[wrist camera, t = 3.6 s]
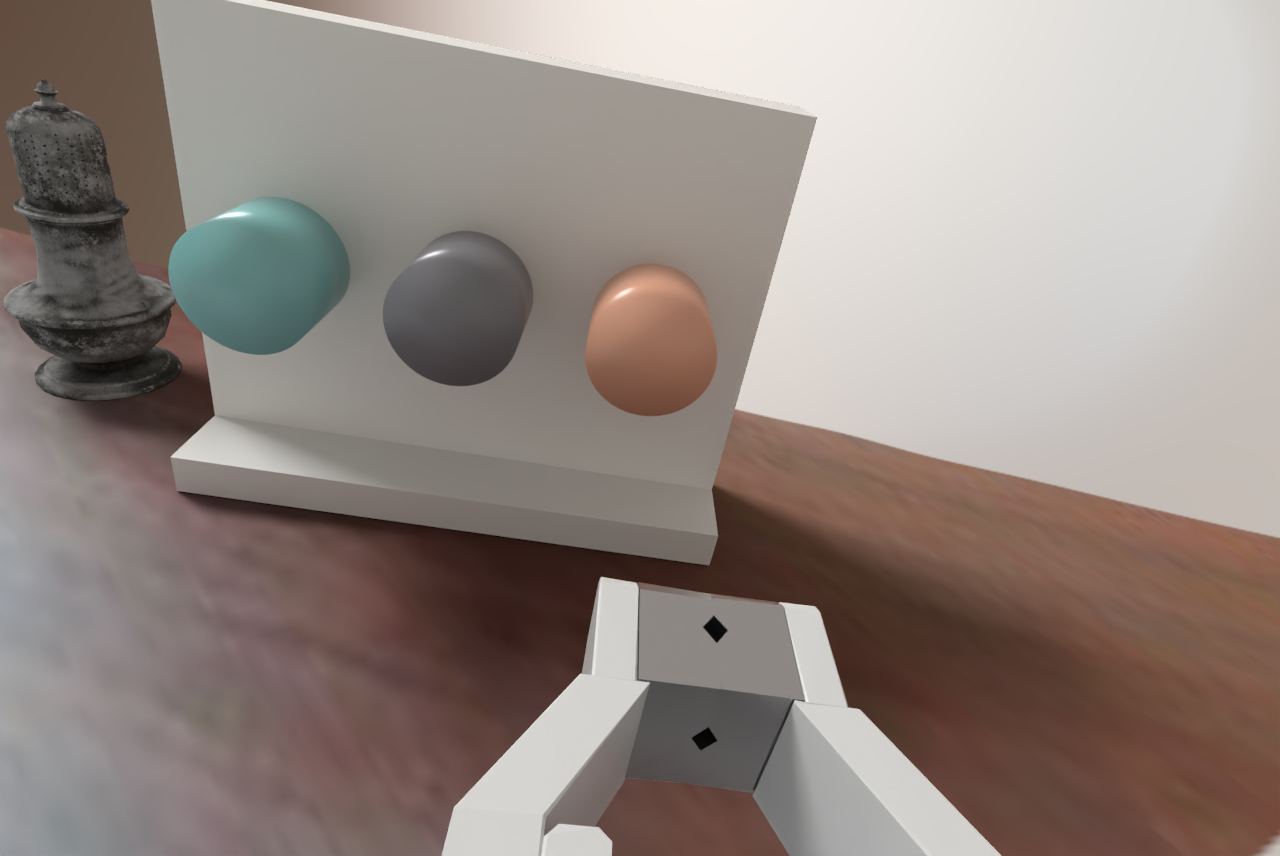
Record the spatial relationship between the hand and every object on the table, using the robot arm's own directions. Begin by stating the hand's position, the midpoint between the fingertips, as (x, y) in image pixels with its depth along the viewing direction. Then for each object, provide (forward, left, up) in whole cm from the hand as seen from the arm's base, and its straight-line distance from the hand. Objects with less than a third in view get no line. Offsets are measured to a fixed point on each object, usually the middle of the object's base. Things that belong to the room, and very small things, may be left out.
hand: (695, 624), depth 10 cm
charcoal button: (-6, +14, -4) cm, 16 cm away
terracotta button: (0, +14, -4) cm, 14 cm away
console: (-6, +17, -11) cm, 21 cm away
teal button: (-12, +14, -4) cm, 19 cm away
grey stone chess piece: (-23, +21, -11) cm, 33 cm away
